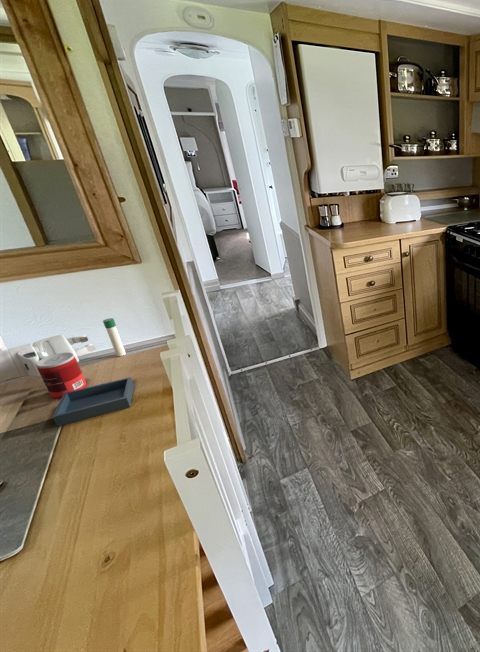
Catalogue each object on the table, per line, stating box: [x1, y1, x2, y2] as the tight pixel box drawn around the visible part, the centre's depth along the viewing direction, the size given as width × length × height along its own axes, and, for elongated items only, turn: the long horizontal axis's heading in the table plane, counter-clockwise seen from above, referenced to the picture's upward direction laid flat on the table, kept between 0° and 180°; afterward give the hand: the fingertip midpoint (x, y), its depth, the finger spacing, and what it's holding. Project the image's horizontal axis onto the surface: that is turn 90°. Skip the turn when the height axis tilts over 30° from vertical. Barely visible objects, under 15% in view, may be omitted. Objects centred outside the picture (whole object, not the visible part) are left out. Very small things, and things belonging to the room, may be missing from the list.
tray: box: [52, 376, 135, 427], centre depth 106 cm, size 15×13×3 cm
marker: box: [102, 318, 127, 358], centre depth 129 cm, size 3×3×14 cm
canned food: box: [36, 353, 87, 399], centre depth 110 cm, size 8×8×11 cm
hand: (90, 342), depth 124 cm, fingers open, 8 cm apart
